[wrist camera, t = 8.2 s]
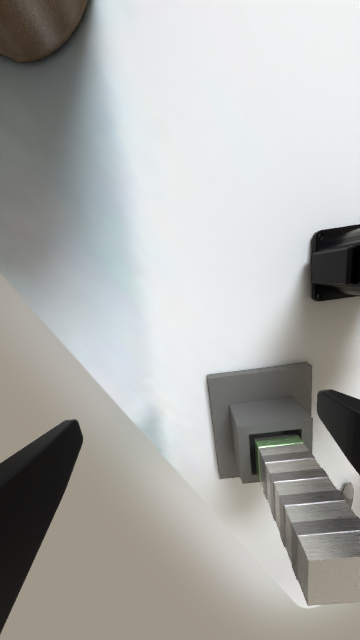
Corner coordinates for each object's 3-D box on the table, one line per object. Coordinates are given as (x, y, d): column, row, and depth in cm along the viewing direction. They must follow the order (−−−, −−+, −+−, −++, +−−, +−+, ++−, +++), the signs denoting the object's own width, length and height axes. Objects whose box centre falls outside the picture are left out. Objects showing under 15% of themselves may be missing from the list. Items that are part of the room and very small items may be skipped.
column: (297, 433, 18) (385, 553, 10) (297, 467, 19) (377, 601, 11) (253, 438, 18) (307, 560, 10) (255, 471, 19) (306, 606, 11)
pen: (326, 549, 28) (334, 563, 26) (340, 475, 24) (349, 487, 23) (333, 549, 28) (341, 563, 26) (348, 474, 24) (358, 486, 23)
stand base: (306, 362, 20) (344, 387, 16) (305, 463, 24) (336, 509, 19) (206, 374, 21) (214, 403, 16) (218, 472, 24) (227, 519, 19)
